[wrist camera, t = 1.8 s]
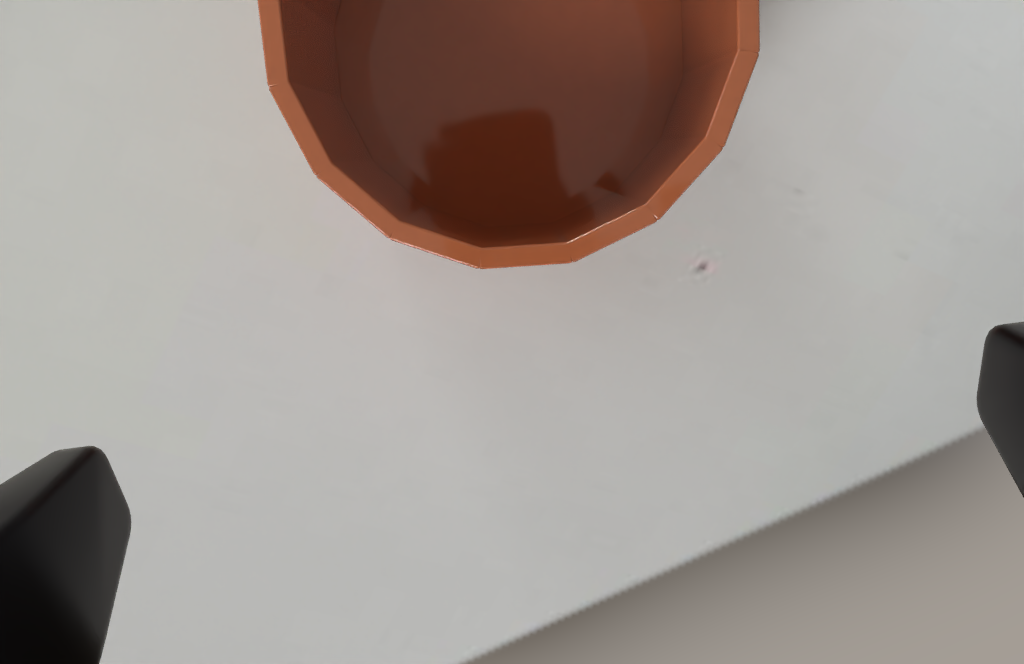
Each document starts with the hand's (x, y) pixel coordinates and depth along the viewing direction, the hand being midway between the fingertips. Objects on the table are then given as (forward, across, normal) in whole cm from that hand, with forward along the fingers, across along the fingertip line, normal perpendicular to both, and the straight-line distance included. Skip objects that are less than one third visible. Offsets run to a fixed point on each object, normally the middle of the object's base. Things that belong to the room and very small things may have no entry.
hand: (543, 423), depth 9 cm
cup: (+14, 0, -1) cm, 14 cm away
